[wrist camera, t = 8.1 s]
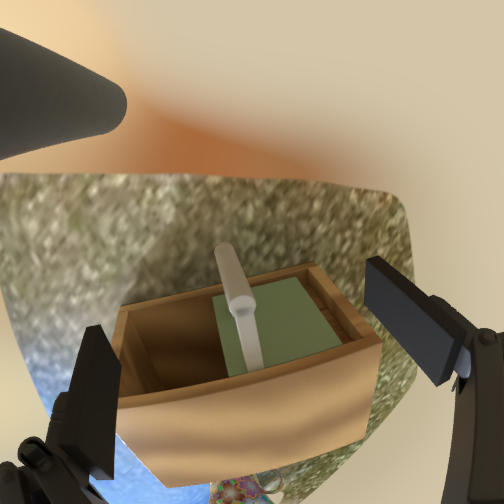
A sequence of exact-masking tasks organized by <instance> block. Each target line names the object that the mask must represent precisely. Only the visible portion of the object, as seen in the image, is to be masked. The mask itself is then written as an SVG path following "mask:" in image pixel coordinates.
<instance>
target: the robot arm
mask: <svg viewBox="0 0 504 504" xmlns="http://www.w3.org/2000/svg"><path fill="white" fill-rule="evenodd" d="M364 304H365V306H366V307H367V308H368V309H369V310H370V311H371V312H372V313H373V314H374V315H375V317H376V318H377V319H378V320H379V321H380V322H381V323H382V324H383V325H384V327H385V328H386V329H387V330H388V331H389V332H390V333H391V335H392V336H393V337H394V338H395V339H396V340H397V341H398V342H399V344H400V345H401V346H402V347H403V348H404V349H405V350H406V352H407V353H408V354H409V355H410V356H411V357H412V359H413V360H414V361H415V362H416V363H417V364H418V366H419V367H420V368H421V369H422V370H423V371H424V373H425V374H426V375H427V376H428V377H429V378H430V379H431V381H432V382H433V383H434V385H435V386H436V387H437V386H439V385H441V384H443V383H444V382H446V381H448V380H449V379H450V377H451V375H452V373H453V370H454V371H455V372H456V373H457V374H458V376H457V378H456V380H455V382H454V385H453V387H452V390H451V391H452V392H453V391H454V389H455V387H456V396H455V413H454V424H453V434H452V442H451V450H450V457H449V464H448V470H447V475H446V481H445V486H444V491H443V496H442V500H441V504H504V332H501V333H496V332H495V331H493V330H491V329H488V328H480V329H477V328H476V327H475V326H474V325H473V324H472V323H471V322H469V321H468V320H467V319H466V318H465V317H464V316H463V315H461V314H460V313H459V312H457V310H456V309H454V308H453V307H451V305H450V304H448V303H447V302H446V301H445V300H444V299H442V298H440V297H437V296H435V295H432V296H429V297H428V296H427V295H426V294H425V293H424V292H422V291H421V290H420V289H419V288H418V287H417V286H415V285H414V284H413V283H412V282H411V281H409V280H408V279H407V278H406V277H405V276H403V275H402V274H401V273H400V272H398V271H397V270H396V269H395V268H394V267H392V266H391V265H390V264H389V263H387V262H386V261H385V260H384V259H382V258H381V257H380V256H375V257H372V258H368V259H366V273H365V294H364ZM121 369H122V365H121V363H120V361H119V360H118V358H117V356H116V354H115V352H114V350H113V348H112V347H111V345H110V343H109V341H108V339H107V337H106V335H105V333H104V331H103V329H102V327H101V325H95V326H90V327H86V330H85V333H84V336H83V340H82V343H81V346H80V350H79V353H78V357H77V360H76V364H75V367H74V371H73V375H72V379H71V383H70V387H69V391H68V392H61V393H60V394H59V396H58V397H57V399H56V400H55V402H54V406H53V410H52V412H53V413H52V414H51V418H50V420H51V421H50V423H49V427H48V432H47V436H46V441H45V443H44V442H43V441H42V440H41V439H40V438H38V437H29V438H27V439H25V440H24V441H23V442H22V443H21V444H20V447H19V448H18V459H19V461H20V462H22V463H23V464H24V465H25V466H21V467H17V466H15V465H14V464H13V463H12V462H8V461H6V462H3V463H1V464H0V504H109V503H108V502H107V501H106V500H105V499H104V498H103V497H102V495H101V494H100V493H99V492H98V491H97V489H96V488H95V487H94V486H93V485H92V484H91V483H90V482H89V474H90V475H91V476H93V477H94V478H95V479H96V480H114V454H115V434H116V420H117V407H118V396H119V387H120V378H121Z"/></svg>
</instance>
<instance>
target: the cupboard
mask: <svg viewBox="0 0 504 504" xmlns="http://www.w3.org/2000/svg"><path fill="white" fill-rule="evenodd" d="M292 277H296V278H297V279H298V280H299V282H300V283H301V285H302V286H303V287H304V289H305V290H306V292H307V293H308V295H309V296H310V297H311V299H312V300H313V302H314V303H315V305H316V306H317V307H318V309H319V310H320V312H321V313H322V315H323V316H324V317H325V319H326V320H327V322H328V323H329V325H330V326H331V327H332V329H333V330H334V332H335V333H336V335H337V336H338V338H339V339H340V340H341V342H342V343H343V345H341V346H338V347H335V348H332V349H329V350H326V351H323V352H320V353H317V354H314V355H311V356H307V357H304V358H301V359H297V360H294V361H291V362H287V363H284V364H280V365H277V366H273V367H269V368H266V369H262V370H258V371H254V372H250V373H246V374H242V375H238V376H234V377H230V378H229V376H228V372H227V367H226V363H225V358H224V354H223V349H222V345H221V340H220V335H219V331H218V326H217V321H216V316H215V311H214V306H213V301H212V297H214V296H218V295H223V294H225V292H224V288H223V285H222V284H218V285H214V286H210V287H205V288H201V289H197V290H192V291H188V292H184V293H179V294H175V295H171V296H166V297H162V298H157V299H153V300H148V301H144V302H139V303H134V304H130V305H125V306H121V307H120V309H119V313H118V317H117V321H116V325H115V329H114V334H113V338H112V342H111V347H112V348H113V350H114V352H115V354H116V356H117V358H118V360H119V361H120V363H121V365H122V369H121V378H120V387H119V396H118V407H117V420H116V434H117V435H118V436H119V438H120V439H121V440H122V441H123V442H124V443H125V445H126V446H127V447H128V448H129V449H130V450H131V451H132V453H133V454H134V455H135V456H136V457H137V458H138V459H139V460H140V461H141V462H142V464H143V465H144V466H145V467H146V468H147V469H148V470H149V471H150V472H151V473H152V474H153V475H154V476H155V477H156V478H157V479H158V480H159V481H160V482H161V483H162V484H163V485H164V486H165V487H166V488H174V487H182V486H190V485H198V484H204V483H211V482H216V481H222V480H227V479H232V478H237V477H242V476H247V475H251V474H255V473H260V472H264V471H268V470H272V469H275V468H279V467H283V466H286V465H290V464H293V463H296V462H300V461H303V460H306V459H309V458H312V457H315V456H318V455H321V454H324V453H327V452H330V451H332V450H335V449H338V448H340V447H343V446H346V445H348V444H351V443H353V442H356V441H358V440H361V439H363V438H364V437H365V433H366V429H367V425H368V421H369V416H370V412H371V407H372V402H373V397H374V392H375V387H376V382H377V377H378V371H379V365H380V359H381V352H382V346H383V341H382V340H381V339H380V338H379V336H378V335H377V334H376V333H375V331H374V330H373V329H372V328H371V326H370V325H369V324H368V323H367V322H366V321H365V319H364V318H363V317H362V316H361V315H360V314H359V312H358V311H357V310H356V309H355V308H354V307H353V305H352V304H351V303H350V302H349V301H348V300H347V298H346V297H345V296H344V295H343V294H342V293H341V291H340V290H339V289H338V288H337V287H336V286H335V285H334V283H333V282H332V281H331V280H330V279H329V278H328V277H327V275H326V274H325V273H324V272H323V271H322V270H321V269H320V268H319V266H317V264H316V263H315V262H314V261H313V262H309V263H305V264H301V265H297V266H293V267H289V268H285V269H281V270H276V271H272V272H268V273H264V274H260V275H256V276H252V277H248V278H246V279H247V281H248V283H249V286H250V288H252V287H256V286H260V285H264V284H268V283H272V282H276V281H280V280H284V279H288V278H292Z"/></svg>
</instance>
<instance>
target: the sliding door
mask: <svg viewBox="0 0 504 504" xmlns="http://www.w3.org/2000/svg"><path fill="white" fill-rule="evenodd" d="M214 254H215V258H216V262H217V266H218V270H219V273H220V277H221V281H222V285H223V288H224V292H225V294H223V295H218V296H214V297H212V301H213V306H214V311H215V316H216V321H217V326H218V331H219V335H220V340H221V345H222V349H223V354H224V358H225V363H226V367H227V372H228V376H229V378H230V377H234V376H238V375H242V374H246V373H250V372H254V371H258V370H262V369H266V368H269V367H273V366H277V365H280V364H284V363H287V362H291V361H294V360H297V359H301V358H304V357H307V356H311V355H314V354H317V353H320V352H323V351H326V350H329V349H332V348H335V347H338V346H341V345H343V343H342V342H341V340H340V339H339V338H338V336H337V335H336V333H335V332H334V330H333V329H332V327H331V326H330V325H329V323H328V322H327V320H326V319H325V317H324V316H323V315H322V313H321V312H320V310H319V309H318V307H317V306H316V305H315V303H314V302H313V300H312V299H311V297H310V296H309V295H308V293H307V292H306V290H305V289H304V287H303V286H302V285H301V283H300V282H299V280H298V279H297V278H296V277H292V278H288V279H284V280H280V281H276V282H272V283H268V284H264V285H260V286H256V287H252V288H250V286H249V283H248V281H247V279H246V276H245V274H244V271H243V269H242V267H241V264H240V262H239V259H238V257H237V255H236V252H235V250H234V247H233V246H232V245H231V244H229V243H220V244H219V245H217V247H216V248H215V251H214Z"/></svg>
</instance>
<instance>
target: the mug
mask: <svg viewBox="0 0 504 504" xmlns="http://www.w3.org/2000/svg"><path fill="white" fill-rule="evenodd" d="M270 471H272V472H274V473H275V474H276V475H277V476H278V477H279V479H280V484H279V486H278V488H277V489H275V490H273V491H266V490H264V489H263V488H262V486H261V485H260V483H259V481H258V478H257V475H256V473H255V474H251V475H247V476H242V477H237V478H232V479H227V480H222V481H216V482H211V483H209V488H210V497H209V504H274V503H273V502H272V501H271V500H270V499H269V497H268V496H267V495H266V494H275V493H277V492H279V491H280V490H281V489H282V488H283V486H284V478H283V476H282V475H281V474H280V473H279V472H278V471H276V470H275V469H272V470H270ZM265 493H266V494H265Z"/></svg>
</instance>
